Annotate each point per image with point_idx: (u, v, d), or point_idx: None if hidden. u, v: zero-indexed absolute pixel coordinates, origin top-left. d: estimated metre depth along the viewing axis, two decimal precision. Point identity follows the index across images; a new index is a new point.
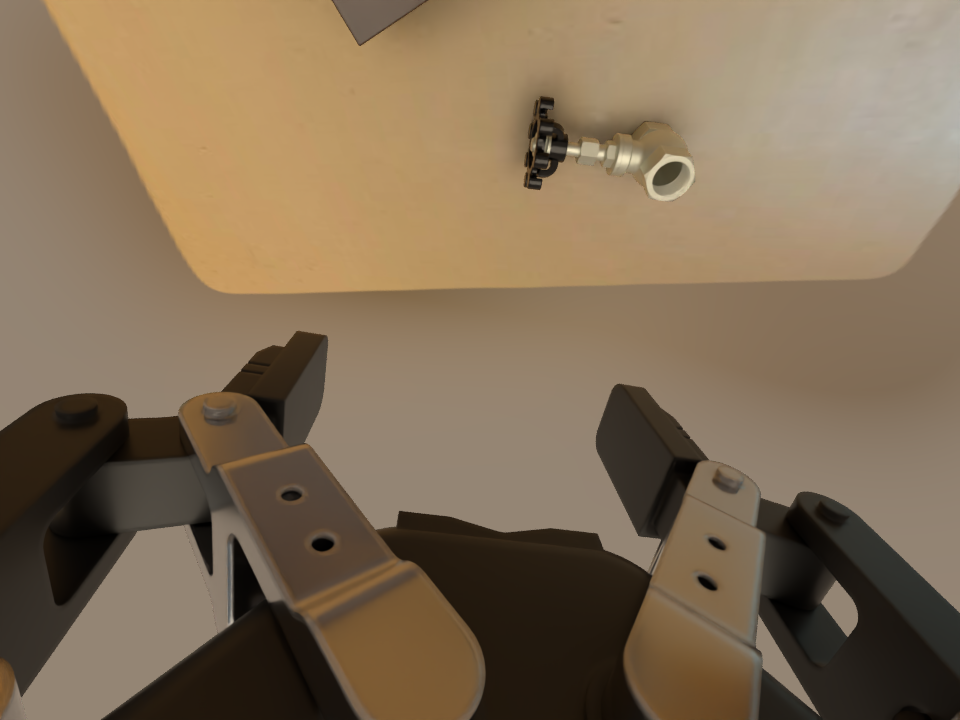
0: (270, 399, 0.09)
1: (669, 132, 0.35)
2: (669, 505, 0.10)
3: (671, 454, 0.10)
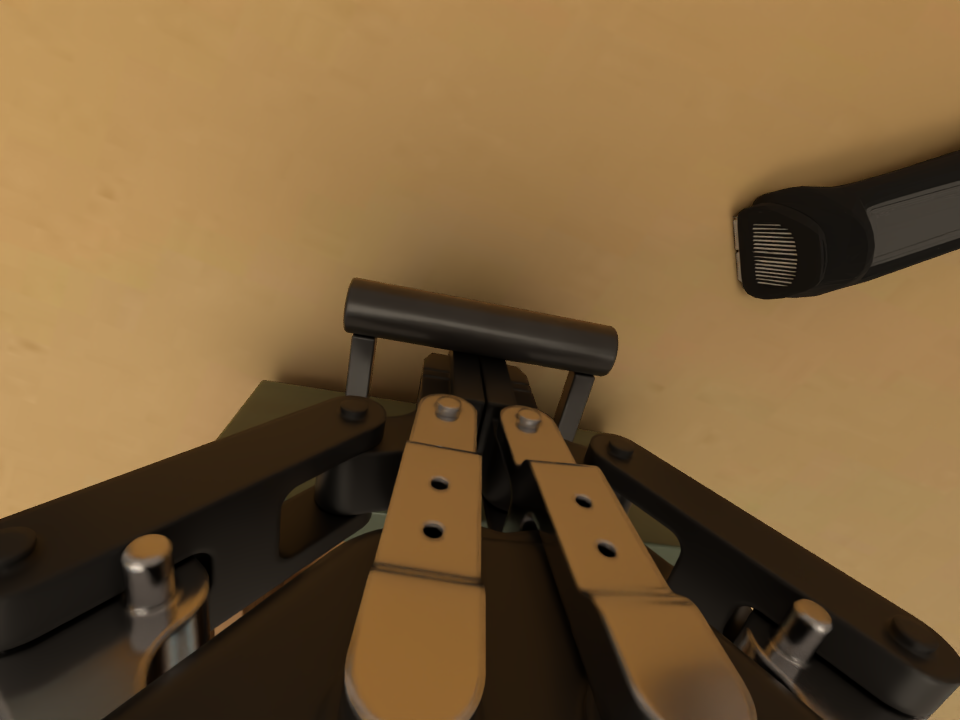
0: (473, 401, 0.10)
1: None
2: (487, 449, 0.11)
3: (487, 400, 0.11)
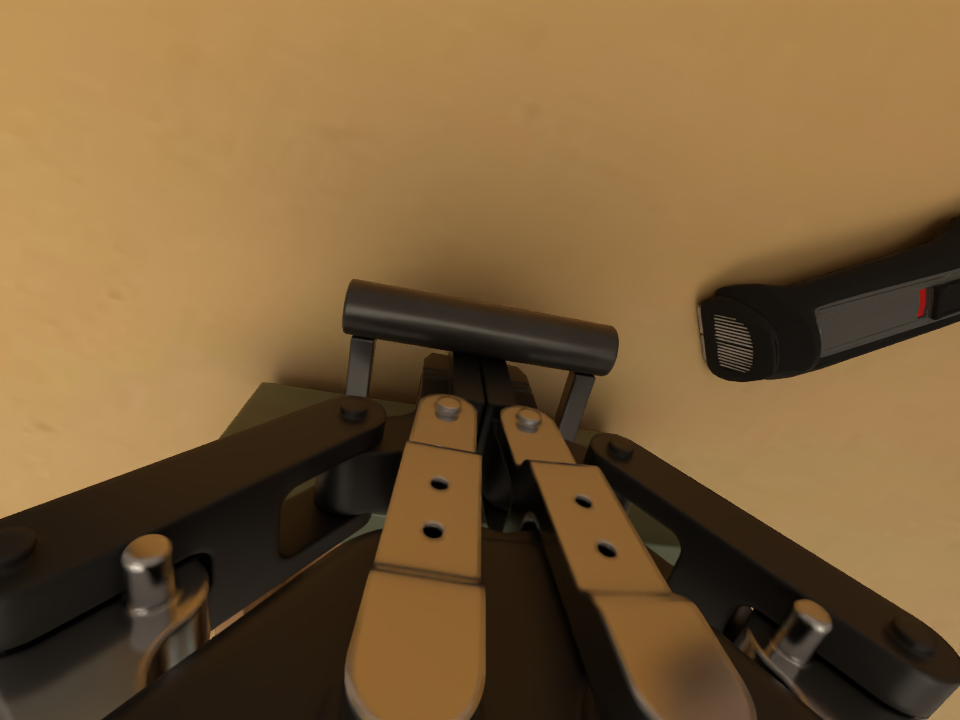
0: (473, 401, 0.10)
1: None
2: (487, 449, 0.11)
3: (487, 400, 0.11)
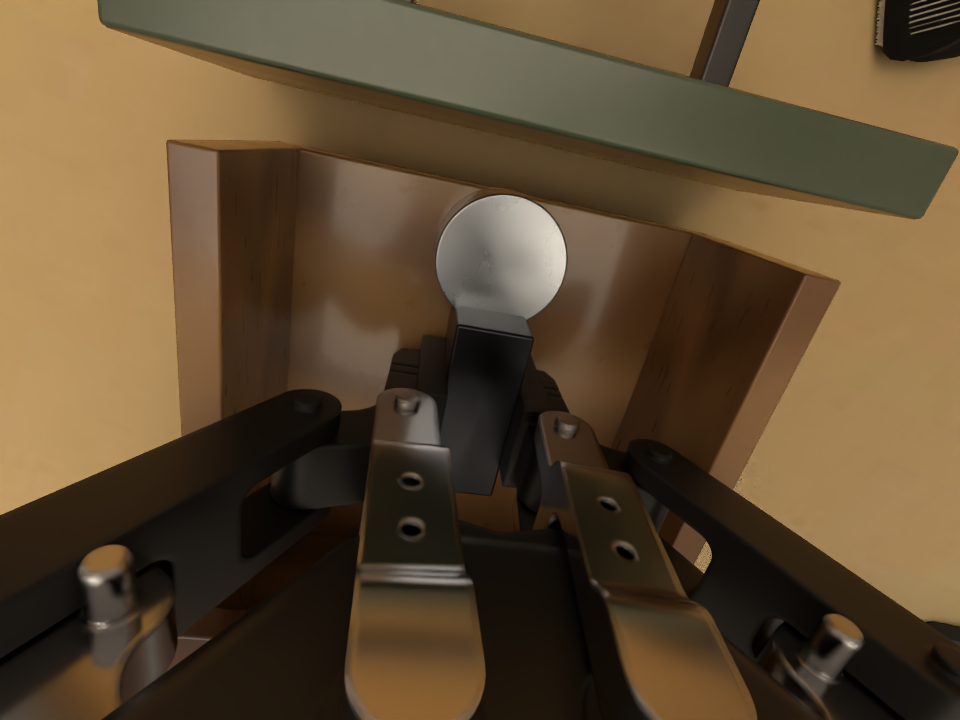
0: (436, 395, 0.10)
1: None
2: (522, 454, 0.11)
3: (523, 406, 0.11)
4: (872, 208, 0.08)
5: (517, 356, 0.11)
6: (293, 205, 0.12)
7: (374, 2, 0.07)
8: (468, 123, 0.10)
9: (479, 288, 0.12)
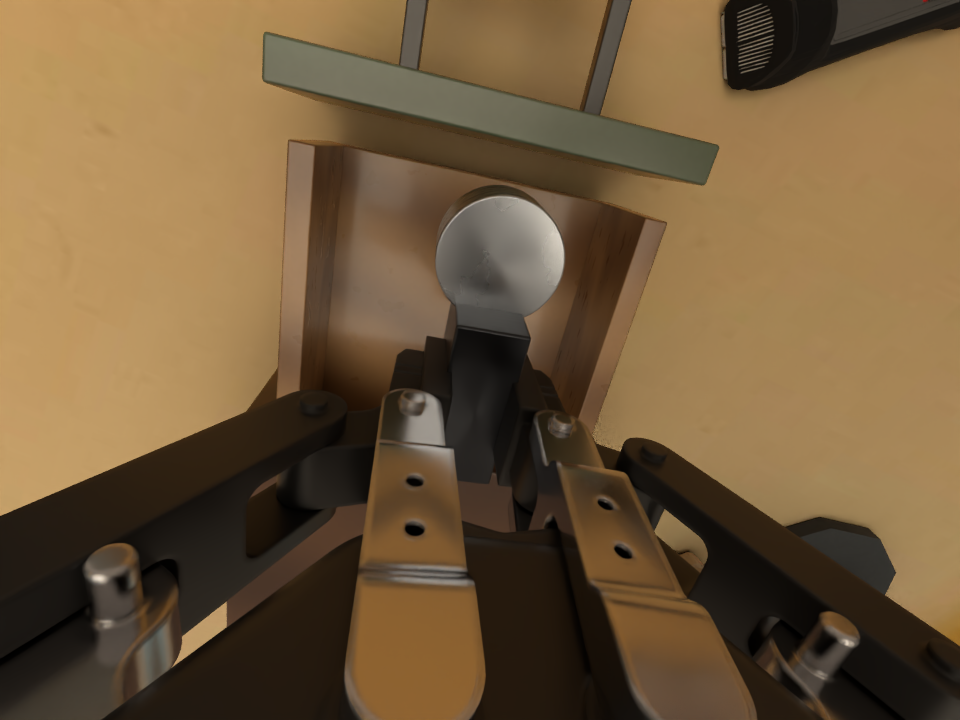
0: (440, 395, 0.10)
1: None
2: (518, 453, 0.11)
3: (518, 405, 0.11)
4: (676, 178, 0.15)
5: (514, 355, 0.11)
6: (339, 182, 0.18)
7: (401, 70, 0.13)
8: (451, 130, 0.17)
9: (477, 286, 0.12)
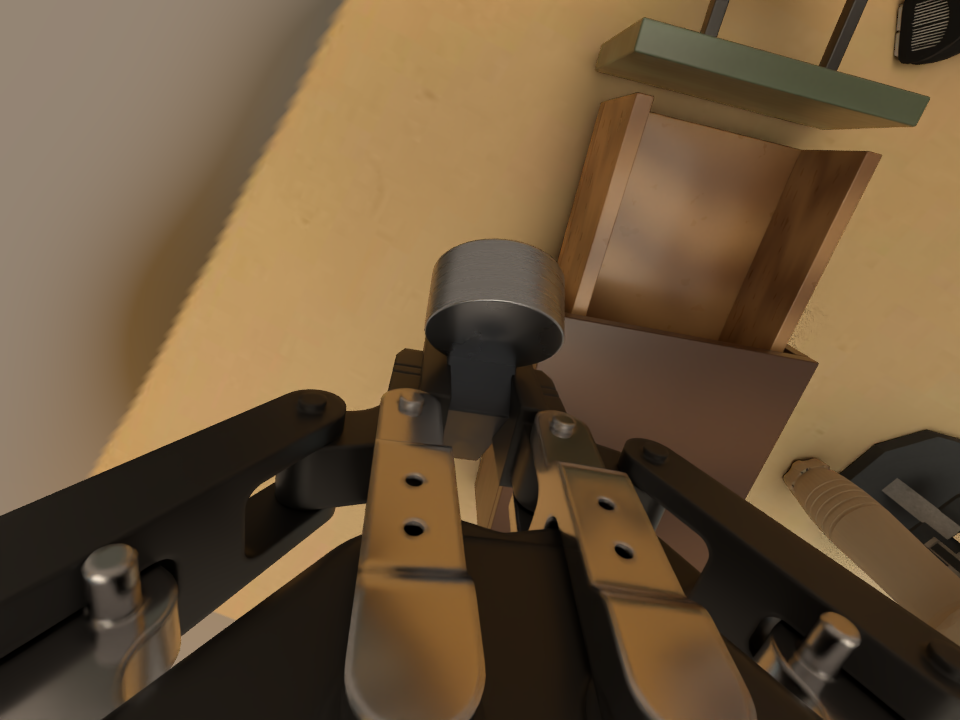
0: (439, 395, 0.10)
1: None
2: (519, 453, 0.11)
3: (519, 405, 0.11)
4: (896, 121, 0.21)
5: (498, 423, 0.12)
6: None
7: (726, 43, 0.19)
8: (712, 90, 0.23)
9: (470, 349, 0.11)
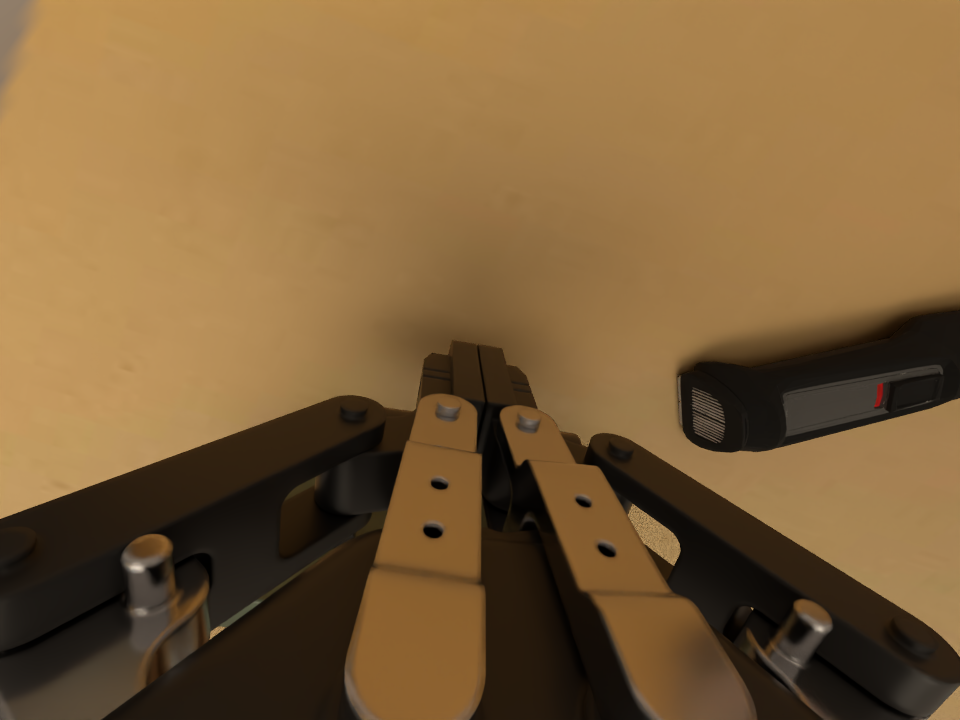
0: (473, 401, 0.10)
1: None
2: (487, 449, 0.11)
3: (487, 400, 0.11)
4: None
5: None
6: None
7: None
8: None
9: None
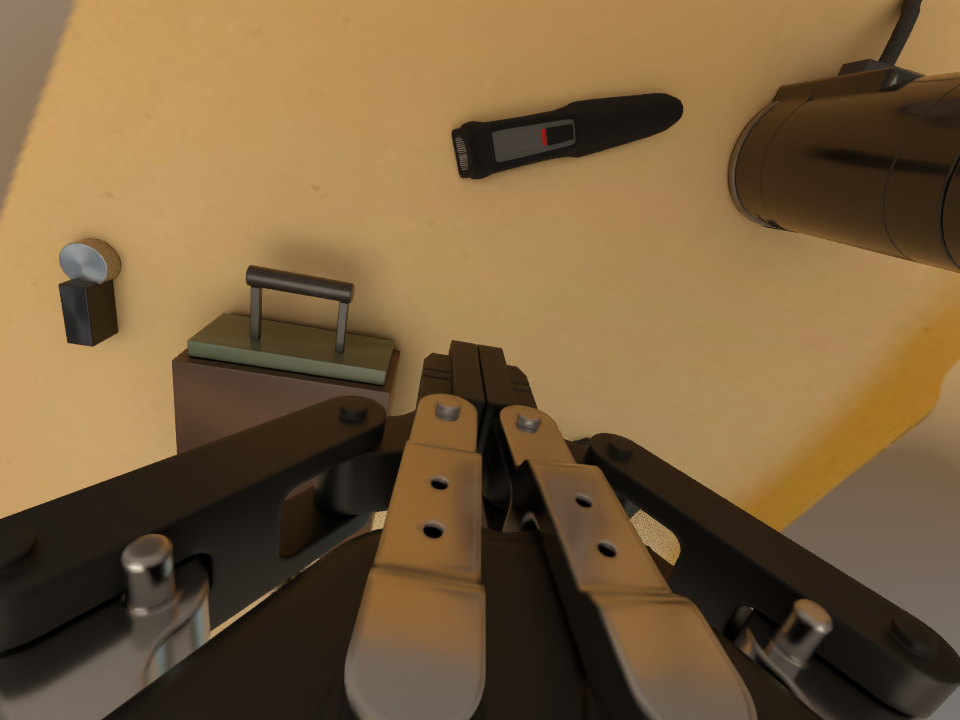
0: (473, 401, 0.10)
1: None
2: (487, 449, 0.11)
3: (487, 400, 0.11)
4: (370, 383, 0.34)
5: (82, 294, 0.34)
6: None
7: (243, 350, 0.33)
8: None
9: (78, 273, 0.35)
